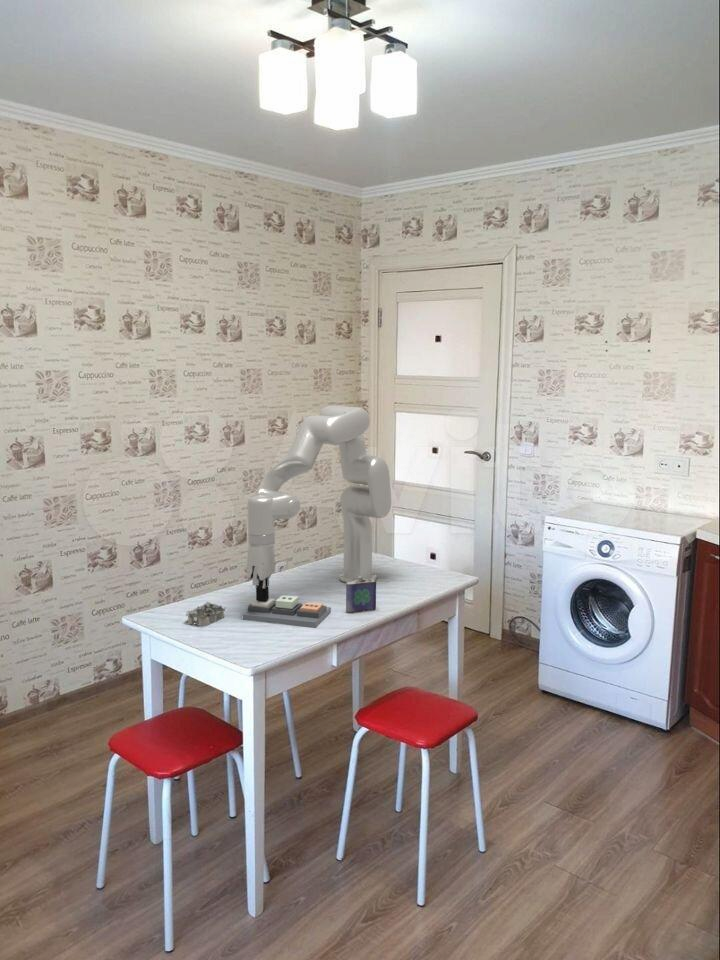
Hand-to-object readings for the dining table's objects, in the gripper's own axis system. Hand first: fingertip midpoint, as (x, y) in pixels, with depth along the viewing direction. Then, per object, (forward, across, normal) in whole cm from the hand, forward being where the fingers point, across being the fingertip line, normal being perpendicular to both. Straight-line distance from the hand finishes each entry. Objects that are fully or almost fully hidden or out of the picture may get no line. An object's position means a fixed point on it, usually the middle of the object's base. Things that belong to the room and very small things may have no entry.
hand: (262, 600), depth 219 cm
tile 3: (+2, 0, +15) cm, 15 cm away
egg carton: (+5, +9, -13) cm, 17 cm away
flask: (+4, -11, +27) cm, 29 cm away
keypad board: (+4, 0, +8) cm, 9 cm away
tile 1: (+2, 0, 0) cm, 2 cm away
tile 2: (+1, 0, +8) cm, 8 cm away
